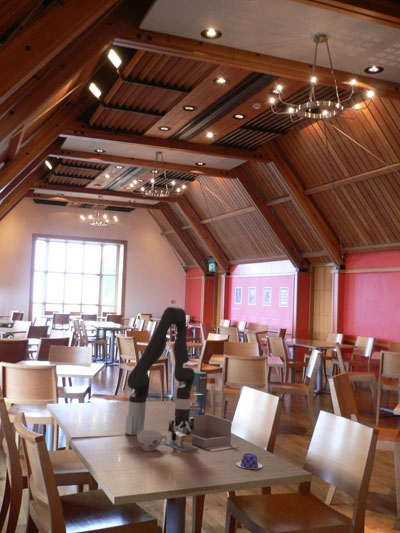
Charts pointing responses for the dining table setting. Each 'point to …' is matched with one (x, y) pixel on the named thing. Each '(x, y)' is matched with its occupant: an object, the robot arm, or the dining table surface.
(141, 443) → the teacup
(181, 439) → the block
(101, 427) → the dining table surface
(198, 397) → the beverage box
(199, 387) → the cake mix box
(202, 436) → the carton
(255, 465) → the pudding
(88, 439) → the dining table surface
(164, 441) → the mat
